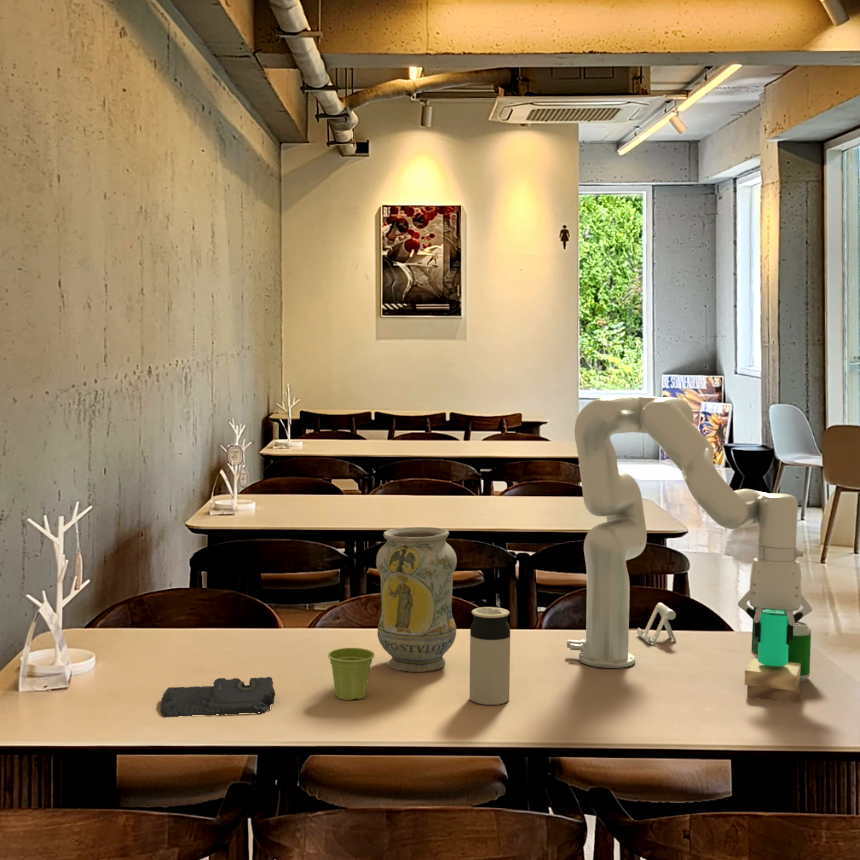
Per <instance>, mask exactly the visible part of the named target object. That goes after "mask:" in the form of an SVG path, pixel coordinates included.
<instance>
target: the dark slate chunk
mask: <svg viewBox="0 0 860 860" xmlns="http://www.w3.org/2000/svg"><path fill="white" fill-rule="evenodd" d="M212 684H213V685H212V686H211V685H202V686H198V685H197V686H177V687H175V686H169V687H167V688H166V690H165V691H164V692H163V694H162V697H161V701H160V713H161V715H163V717H164V718H180V717H179V716H183V717H188V716H190V717H193V716H192V715H216V714H219V716H222V715H223V716H226V715H225V714H239V713H258V712H260V713H265V712H266V711H267V710H270V705H271V704H272V705H273V704H274V703H275V697H276V691H275V688H274V681H273V678H272V677H271V676H266V677H251V678H250V679H249V683H248V684H247V685H246V684H245V682H244V681H243V680H241V679H240V678H237V677H235V678H231V679H226V678H225V677H223V678H222V677H220V678H216V679H215V680H214V682H213V683H212ZM272 705H271V706H272ZM267 712H268V711H267ZM267 712H266V713H267ZM266 713H265V714H266Z"/></svg>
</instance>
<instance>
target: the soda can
mask: <svg viewBox="0 0 860 860" xmlns="http://www.w3.org/2000/svg"><path fill="white" fill-rule="evenodd" d="M811 642H812V629H811V628H810V627H809V625H808V624H807V623H806V622H803V621H800V620H799V621H798V622H796V623H795V625H793V640H789V647H788V662H792V663H801V667H800V680H799V683H803V682H805V681H806V679H808V678H809V677H810V676H811V675H810V673H811V645H812V643H811Z"/></svg>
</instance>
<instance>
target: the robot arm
mask: <svg viewBox="0 0 860 860" xmlns="http://www.w3.org/2000/svg"><path fill="white" fill-rule="evenodd" d="M694 416H695V415H694V411H693V409H692V407H691V406H690V404H689V403H688V402H686V401H685V400H684V399H681V398H679V397H657V396H647V395H646V396H645V395H607V396H603V397H598V398H596V399H593V400H592V401H589V402H588V403H587V404H586V405H585V406H584V407H583V408H582V409H581V410H580V412H579V413H578V415H577V418H576V419H575V422H574V423H575V424H574V438H575V439H574V441H575V446H576V451H577V457H578V464H579V465H578V466H579V474H580V481H581V482H580V483H581V490H582V497H583V504H584V507H585V508H586V510H587V511H588V513H590V514H591V515H593V516H594V517H595V516H596V517H605V518H606V522H602V523H599V524H597V525H595V526H593V527H592V528H591V529H590V530H589V531H588V532H587V533H586V536H585V538H584V542H583V553H584V561H585V569H586V615H585V617H586V622H585V625H586V626H585V628H586V630H585V632H586V633H585V639H581V640H576V639H567V641H566V648H567V649H570V651H580V653H579V654H578V661H579V662H581V663H582V664H584V665H587V666H590V667H595V668H601V669H602V668H603V669H619V668H620V669H622V668H627V667H630V666H632V665H634V664H635V663H636V657H635V655H633V654H632V653H630V652H629V636H630V635H629V631H630V630H629V627H630V626H629V625H630V624H629V623H630V576H629V572H628V567H627V561H629V560H631V559H635V558H636V557H638V556H640V555H642V553H643V552H644V550H645V548H646V545H647V538H648V536H647V535H648V533H647V526H646V518H645V510H644V504H643V498H642V492H641V488H640V486H639V484H638V483H637V481H636V479H635V478H634V477H633V476H631V475H630V474H628V473H627V472H624V471H623V472H622V471H619V467H618V458H617V454H616V453H617V452H616V449H615V448H614V444H613V443H612V440H611V436H613V435H615V434H617V435H618V434H624V433H625V434H626V433H636V434H637V433H639V434H640V433H641V434H648V435H649V436H650V438H651V439H652V440H653V441H654V442H655V443H656V445H658V447H659V448H661V449H662V451H663V452H664V453H665V454H666V456H667V457H668V459H670V460H671V462H672V463H674V465H675V466H676V467H677V468H678V470H679V471H680V472H681V474H682V478H683V479H684V483H685V485H686V486H687V488H688V491H689V492H690V494H691V496H692V497H693V499H694V500H695V501H696V503H697V504H698V505H699V506H700V507H701V509H703V510H704V512H705V513H706V514H707V515H708V516H709V518H711V519H712V520H713V521H714V522H715V523H717V524H718V525H719V526H720V527H722V528H725V529H729V530H736V529H741V528H743V527H746V526H751V525H758V527H757V529H758V530H757V557H754V558H753V561H752V565H751V570H750V579H749V588H748V590H747V592H745V594H744V595H743V596H742V597H741V598H740V599H739V601H738V602H737V606H738V607H739V608H740V609H741V610H743V611H744V612H745V613H746V614H747V615H748V616H749V617H750V618H751V619H752V621H753V620H754V622H755V634H754V637H758V642H760V636H761V623H760V618H761V614H762V612H763V609H769V610H782V611H786V614H787V615H788V622H789V625H787V645H789V640H793V625H795V623H796V622H798V621H799V622H800V620H801V619H803V618H804V617H806V616H807V615H809V614H810V613H812V611H813V608H812V606H811V604H810V603H809V602H808V601H807V599H806V598H805V596H804V595H803V594H802V573H801V571H802V570H801V564H800V561H799V560H797V559H798V558H801V557H804V549H798V547H797V535H798V534H797V532H798V531H797V530H798V510H799V509H798V507H799V506H798V505H799V503H798V500H797V498H796V497H795V496H794V495H792V494H788V493H781V492H780V493H779V492H776V493H775V492H773V493H772V492H771V493H768V492H763V491H759V490H755V489H750V488H742V489H736V490H733V488H732V487H731V486H730V485H729V484H728V483H727V481H725V480H724V478H723V477H722V476H721V475H720V473H719V472H718V470H717V469H716V466H715V464H714V460H713V459H714V458H713V456H714V454H713V453H714V448H713V445H712V443H711V442H710V441H709V440H708V439H707V437H705V435H703V433H702V432H701V431H700V430H699V429H698V428H697V427H696V426H695V424H694V421H695V419H694V418H695V417H694ZM748 602H749V605H748ZM801 607H802V609H801ZM753 608H756V611H754V610H753ZM796 611H797V612H796ZM794 612H795V613H794Z"/></svg>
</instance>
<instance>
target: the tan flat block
mask: <svg viewBox="0 0 860 860" xmlns="http://www.w3.org/2000/svg"><path fill="white" fill-rule="evenodd" d="M746 686H747V690H746V692H747V693H746V697H749V698H748V699H758V698H760V699H759V700H767V699H770V700H769V701H777V700H780V702H787V701H790V703H797V702H799V703H800V682H799V683H798V687H797V690H796V691H793V690H784V689H776V688H767V687H759V686H750V685H746Z"/></svg>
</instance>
